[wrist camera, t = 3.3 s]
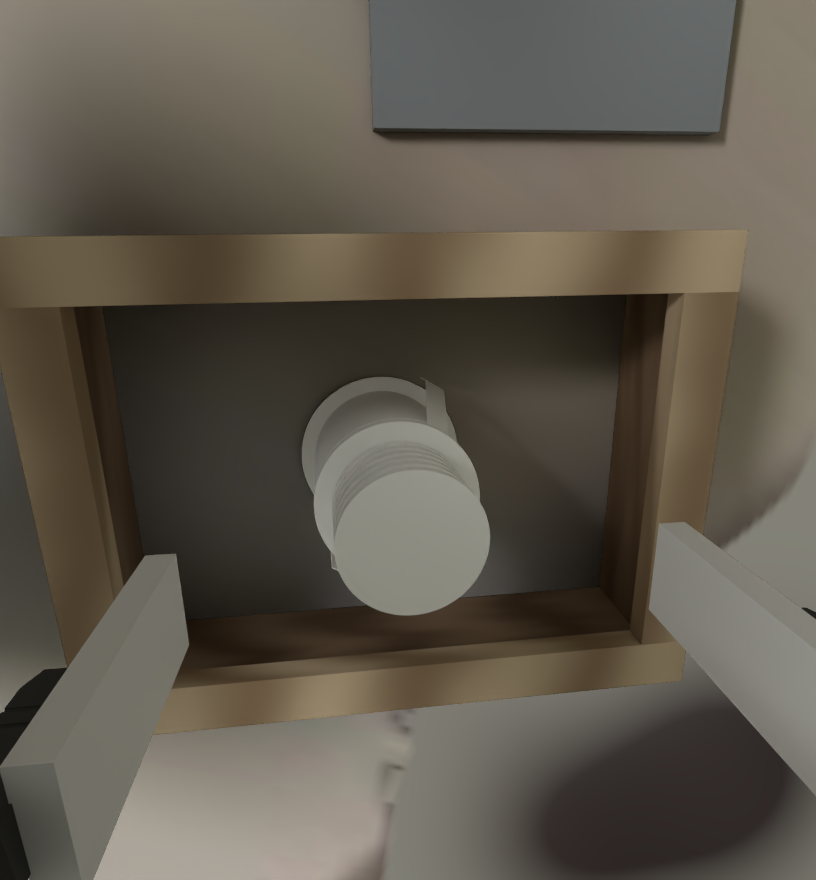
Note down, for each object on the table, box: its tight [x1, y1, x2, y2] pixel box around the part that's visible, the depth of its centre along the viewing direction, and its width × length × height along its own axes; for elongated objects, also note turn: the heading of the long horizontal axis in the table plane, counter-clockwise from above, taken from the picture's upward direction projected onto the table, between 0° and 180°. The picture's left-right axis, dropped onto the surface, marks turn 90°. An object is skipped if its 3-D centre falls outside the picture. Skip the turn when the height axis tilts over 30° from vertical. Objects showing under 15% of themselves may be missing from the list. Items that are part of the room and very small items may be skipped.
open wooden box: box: [0, 230, 749, 735], centre depth 23 cm, size 24×18×6 cm
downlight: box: [302, 377, 490, 615], centre depth 22 cm, size 8×7×10 cm
